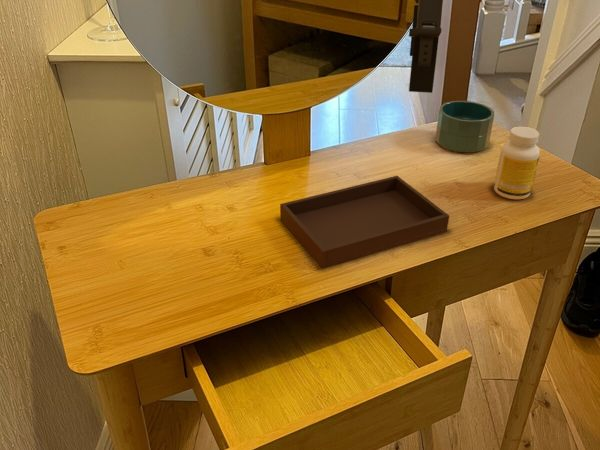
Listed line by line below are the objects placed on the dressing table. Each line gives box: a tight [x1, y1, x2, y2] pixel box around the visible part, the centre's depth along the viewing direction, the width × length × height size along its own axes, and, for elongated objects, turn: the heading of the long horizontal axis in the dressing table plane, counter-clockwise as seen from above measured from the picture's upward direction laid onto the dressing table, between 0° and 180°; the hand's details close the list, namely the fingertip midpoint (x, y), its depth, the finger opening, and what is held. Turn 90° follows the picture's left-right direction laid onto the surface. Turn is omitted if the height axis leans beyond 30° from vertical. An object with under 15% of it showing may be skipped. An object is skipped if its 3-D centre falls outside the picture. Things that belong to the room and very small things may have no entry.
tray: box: [279, 175, 450, 269], centre depth 85 cm, size 19×13×3 cm, turn 116°
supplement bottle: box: [493, 126, 541, 200], centre depth 92 cm, size 5×5×10 cm
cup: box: [435, 100, 495, 153], centre depth 107 cm, size 9×9×6 cm
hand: (420, 72), depth 79 cm, fingers open, 13 cm apart
